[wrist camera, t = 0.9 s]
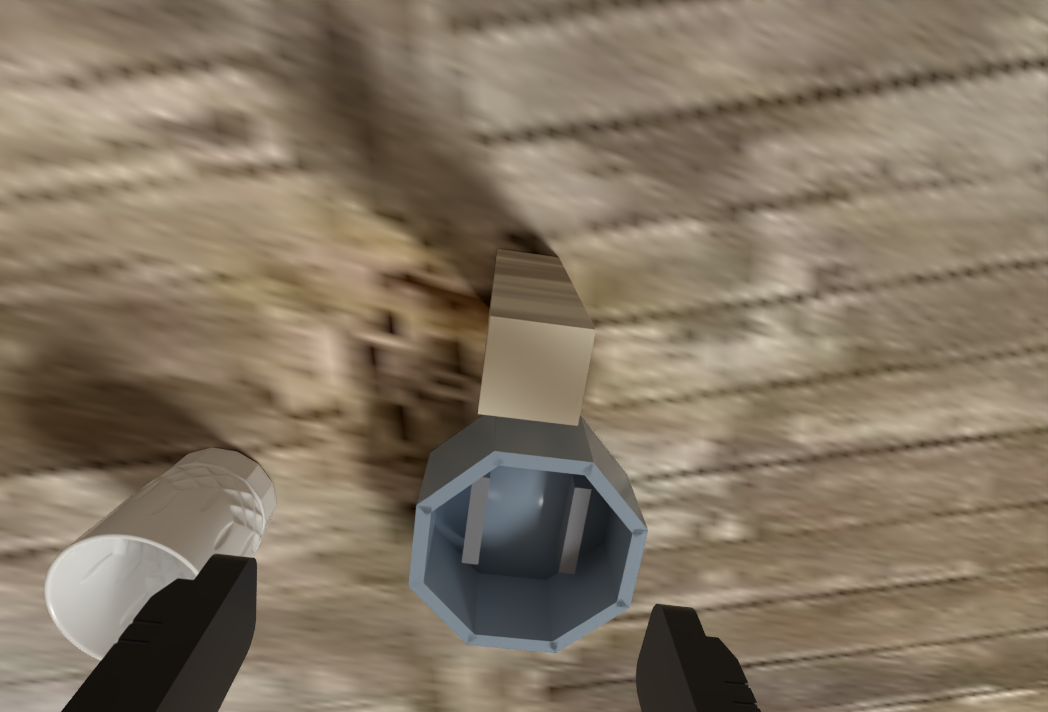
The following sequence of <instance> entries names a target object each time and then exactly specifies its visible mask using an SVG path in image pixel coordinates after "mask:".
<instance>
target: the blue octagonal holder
mask: <svg viewBox="0 0 1048 712" xmlns="http://www.w3.org/2000/svg"><path fill="white" fill-rule="evenodd" d="M647 533H648V529H647V526H646V523H645V521H644V518H643V515H642V513H641V510H640V507H639V505H638V502H637V499H636V497H635V494H634V492H633V489H632V486H631V484H630V481H629V478H628V476H627V474H626V473H625V471H624V470H623V469H622V468H621V466H620V465H619V464H618V463H617V461H616V460H615V459H614V458H613V456H612V455H611V454H610V453H609V451H608V450H607V449H606V447H605V446H604V445H603V444H602V442H601V441H600V440H599V439H598V437H597V436H596V435H595V434H594V432H593V431H592V430H591V429H590V427H589V426H588V425H587V423H586V422H585V421H584V420H583V418H582V417H581V416H580V418H579V423H578V426H574V425H566V424H558V423H549V422H541V421H532V420H524V419H516V418H507V417H499V416H490V415H482V416H481V417H479V418H478V419H477V420H475V421H474V422H472V423H471V424H470V425H468V426H467V427H465V428H464V429H463V430H461V431H460V432H458V433H457V434H456V435H454V436H453V437H451V438H450V439H449V440H447V441H446V442H444V443H443V444H441V445H440V446H439V447H437V448H436V449H434V450H433V451H432V452H430V455H429V459H428V463H427V467H426V471H425V475H424V478H423V482H422V486H421V490H420V494H419V498H418V502H417V506H416V516H415V526H414V536H413V546H412V556H411V566H410V576H409V587H410V588H411V589H412V590H413V591H414V592H415V593H416V594H417V595H418V596H419V597H420V598H421V599H422V600H423V601H424V602H425V603H426V604H427V605H428V606H429V607H430V608H431V609H432V610H433V611H434V612H435V613H436V614H437V615H438V616H439V617H440V618H441V619H442V620H443V621H444V622H445V623H446V624H447V625H448V626H449V627H450V628H451V629H452V630H453V631H454V632H455V633H456V634H457V635H458V636H459V637H460V638H461V639H462V640H463V641H464V642H465V643H466V644H467V645H473V646H484V647H495V648H506V649H517V650H527V651H538V652H549V653H557V652H558V651H560V650H562V649H563V648H565V647H567V646H568V645H570V644H572V643H573V642H575V641H576V640H578V639H580V638H581V637H583V636H585V635H586V634H588V633H589V632H591V631H593V630H594V629H596V628H598V627H599V626H601V625H603V624H604V623H606V622H607V621H609V620H611V619H612V618H614V617H616V616H617V615H619V614H621V613H622V612H624V611H625V610H627V609H629V608H630V604H631V600H632V596H633V591H634V587H635V583H636V579H637V575H638V571H639V566H640V562H641V558H642V554H643V550H644V545H645V541H646V537H647Z"/></svg>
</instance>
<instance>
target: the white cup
mask: <svg viewBox="0 0 1048 712" xmlns="http://www.w3.org/2000/svg"><path fill="white" fill-rule="evenodd" d="M275 507H276V498H275V493H274V487H273V483H272V481H271V480H270V479H269V477H268V476H267V475H266V473H265V472H264V470H263V469H262V468H261V466H260V465H259V464H258V463H256V462H254V461H253V460H251V459H249V458H248V457H246V456H244V455H242V454H241V453H239V452H237V451H232V450H225V449H219V448H208V449H204V450H200V451H196V452H192V453H189V454H187V455H186V456H185V457H183V458H182V459H181V460H180V461H179V462H178V463H176V464H175V465H174V466H173V467H172V468H170V469H169V470H167V471H166V472H165V473H163V474H162V475H160V476H158V477H156V478H154V479H153V480H152V481H151V482H149V483H148V484H146V485H145V486H144V487H142V488H141V489H140V490H138V491H137V492H136V493H135V494H134V495H132V496H131V497H129V498H128V499H126V500H125V501H124V502H122V503H121V504H120V505H119V506H118V507H116V508H115V509H114V510H113V511H112V512H110V513H109V514H108V515H107V516H105V517H104V518H103V519H102V520H100V521H99V522H98V523H97V524H96V525H94V526H93V527H92V528H91V529H89V530H88V531H87V532H86V533H84V534H83V535H82V536H81V537H79V538H78V539H77V540H76V541H74V542H73V543H72V544H71V545H69V546H68V547H67V548H66V549H64V550H63V551H62V552H61V553H60V554H59V555H58V556H57V557H56V558H55V559H54V561H53V562H52V564H51V565H50V567H49V569H48V572H47V575H46V578H45V583H44V597H45V602H46V606H47V609H48V612H49V614H50V616H51V618H52V620H53V622H54V624H55V625H56V627H57V628H58V629H59V631H60V632H61V633H62V634H63V635H64V636H65V637H66V638H67V639H68V640H69V641H70V642H71V643H72V644H73V645H75V646H76V647H77V648H79V649H80V650H82V651H83V652H85V653H86V654H88V655H90V656H92V657H94V658H96V659H98V660H100V661H101V660H102V659H103V657H104V656H105V655H106V654H107V652H108V651H109V650H110V648H111V647H112V646H113V645H114V643H117V642H118V638H119V637H120V636H121V634H122V633H123V632H124V631H125V629H126V628H127V627H128V625H129V624H132V623H133V619H134V618H135V617H136V615H137V614H138V613H139V611H140V610H141V609H142V608H143V606H144V605H145V604H146V602H147V601H148V600H149V599H150V597H151V596H153V595H154V594H155V593H157V592H158V591H160V590H161V589H163V588H164V587H166V586H167V585H169V584H170V583H171V582H173V581H174V580H176V579H177V578H181V579H190V580H194V579H195V578H196V576H197V575H198V573H199V572H200V571H201V569H202V568H203V566H204V565H205V564H206V562H207V561H208V559H209V558H210V557H211V556H212V555H213V554H225V555H234V556H243V557H252V558H253V555H254V554H255V552H256V550H257V548H258V546H259V544H260V542H261V538H262V536H263V534H264V532H265V530H266V529H267V527H268V525H269V523H270V520H271V518H272V515H273V512H274V510H275Z"/></svg>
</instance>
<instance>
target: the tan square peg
mask: <svg viewBox="0 0 1048 712" xmlns="http://www.w3.org/2000/svg"><path fill="white" fill-rule="evenodd" d="M595 332H596V329H595V327H594V325H593V323H592V321H591V319H590V317H589V315H588V313H587V311H586V310H585V308H584V306H583V304H582V302H581V300H580V298H579V296H578V294H577V292H576V290H575V288H574V286H573V284H572V282H571V280H570V278H569V276H568V274H567V272H566V270H565V268H564V266H563V264H562V263H561V261H560V259H559V257H553V256H546V255H539V254H532V253H524V252H517V251H510V250H503V249H497V255H496V263H495V271H494V279H493V287H492V295H491V303H490V311H489V319H488V328H487V337H486V346H485V354H484V363H483V372H482V381H481V390H480V398H479V407H478V414H482V415H490V416H499V417H507V418H516V419H524V420H532V421H541V422H549V423H558V424H566V425H574V426H578V423H579V418H580V412H581V407H582V402H583V396H584V391H585V385H586V380H587V375H588V369H589V364H590V358H591V353H592V348H593V342H594V337H595Z"/></svg>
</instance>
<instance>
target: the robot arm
mask: <svg viewBox="0 0 1048 712" xmlns="http://www.w3.org/2000/svg"><path fill="white" fill-rule="evenodd" d="M256 591H257V562H256V559H255V558H252V557H243V556H234V555H225V554H213V555H212V556H211V557H210V558H209V559H208V561H207V562H206V564H205V565H204V566H203V568H202V569H201V571H200V572H199V573H198V575H197V576H196V578H195V579H194V580H190V579H181V578H177V579H176V580H174V581H173V582H171V583H170V584H169V585H167V586H166V587H164V588H163V589H161V590H160V591H158V592H157V593H155V594H154V595H153V596H151V597H150V599H149V600H148V601H147V602H146V604H145V605H144V606H143V608H142V609H141V610H140V611H139V613H138V614H137V615H136V617H135V618H134V619H133V623H132V624H129V625H128V627H127V628H126V629H125V631H124V632H123V633H122V634H121V636H120V637H119V638H118V642H117V643H114V645H113V646H112V647H111V648H110V650H109V651H108V652H107V654H106V655H105V656H104V657H103V659H102V660H101V661H100V663H99V664H98V665H97V666H96V668H95V669H94V670H93V672H92V673H91V674H90V675H89V677H88V678H87V679H86V680H85V682H84V683H83V684H82V686H81V687H80V688H79V689H78V691H77V692H76V693H75V695H74V696H73V697H72V698H71V700H70V701H69V702H68V703H67V705H66V706H65V707H64V709H63V710H62V711H61V712H218V710H219V708H220V706H221V704H222V702H223V700H224V698H225V696H226V694H227V692H228V690H229V688H230V686H231V684H232V683H233V681H234V679H235V677H236V675H237V673H238V671H239V669H240V667H241V665H242V663H243V661H244V659H245V657H246V655H247V653H248V650H249V648H250V645H251V642H252V638H253V634H254V630H255V624H256ZM636 686H637V694H638V698H639V703H640V707H641V711H642V712H761V711H760V709H759V708H757V702H756V699H755V697H754V695H753V693H752V691H751V688H748V682H747V679H746V677H745V675H744V673H743V670H742V668H741V666H740V664H739V662H738V659H737V658H736V657H735V656H734V655H733V654H732V653H731V651H730V650H729V649H728V648H727V647H726V646H725V645H724V643H723V642H722V641H721V640H720V639H719V638H717V637H707V636H706V635H705V633H704V630H703V628H702V625H701V623H700V620H699V618H698V615H697V613H696V611H695V610H694V609H693V608H690V607H681V606H672V605H663V604H656V605H655V606H654V607H653V609H652V612H651V616H650V619H649V623H648V626H647V630H646V633H645V637H644V640H643V644H642V647H641V651H640V654H639V658H638V662H637V669H636Z"/></svg>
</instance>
